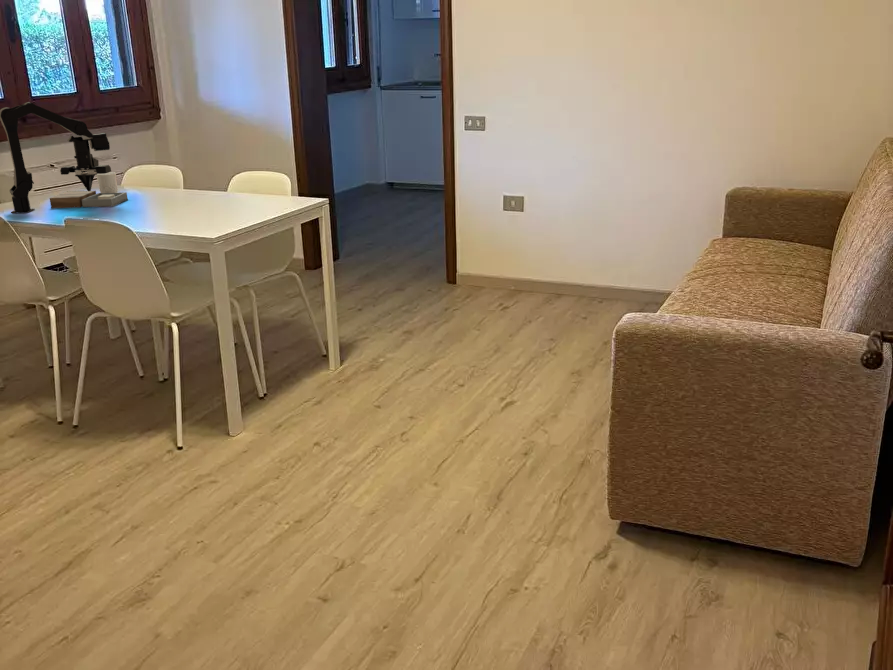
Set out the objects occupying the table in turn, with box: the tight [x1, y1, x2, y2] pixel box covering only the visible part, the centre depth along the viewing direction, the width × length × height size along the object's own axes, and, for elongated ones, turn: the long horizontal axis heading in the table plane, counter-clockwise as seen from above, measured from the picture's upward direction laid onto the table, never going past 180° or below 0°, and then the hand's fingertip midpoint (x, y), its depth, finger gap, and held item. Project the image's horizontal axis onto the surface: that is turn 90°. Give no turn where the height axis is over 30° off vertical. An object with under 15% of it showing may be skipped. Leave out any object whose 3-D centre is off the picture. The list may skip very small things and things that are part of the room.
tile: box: [98, 194, 115, 199], centre depth 341 cm, size 5×5×2 cm
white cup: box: [95, 171, 119, 193], centre depth 355 cm, size 8×8×10 cm
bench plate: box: [49, 190, 97, 209], centre depth 341 cm, size 16×12×4 cm
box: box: [82, 191, 128, 208], centre depth 341 cm, size 16×12×3 cm
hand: (89, 190), depth 340 cm, fingers closed
